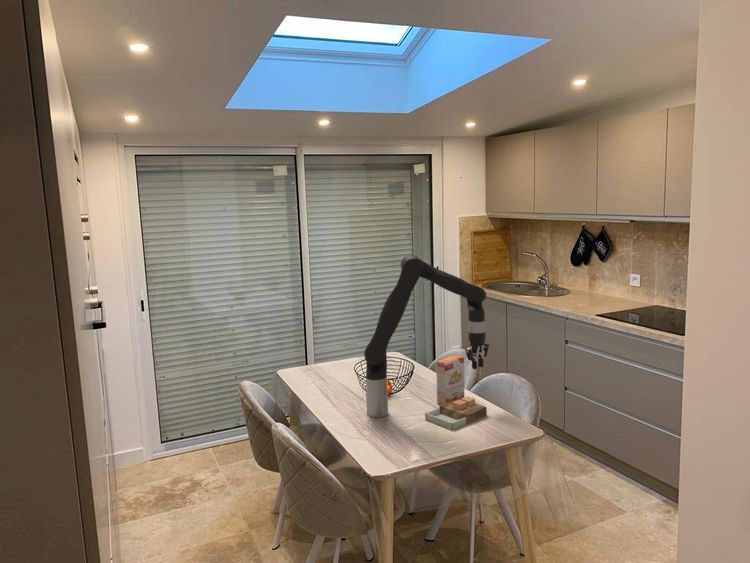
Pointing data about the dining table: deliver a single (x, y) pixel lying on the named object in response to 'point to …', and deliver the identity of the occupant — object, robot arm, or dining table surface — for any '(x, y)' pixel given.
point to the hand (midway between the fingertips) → (477, 367)
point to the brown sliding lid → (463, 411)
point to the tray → (444, 420)
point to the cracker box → (450, 379)
